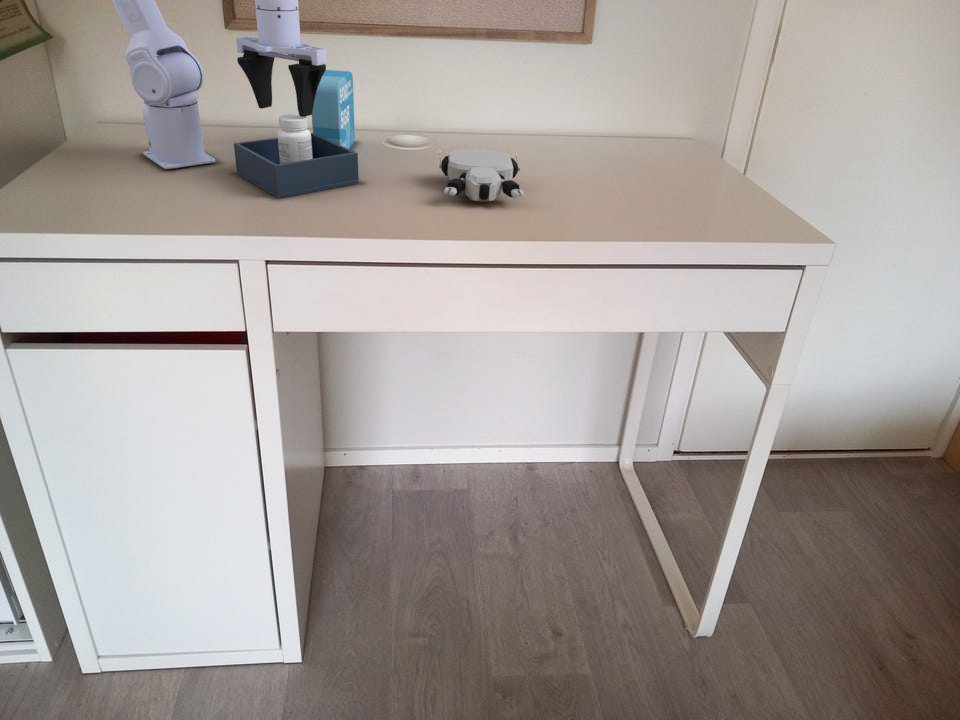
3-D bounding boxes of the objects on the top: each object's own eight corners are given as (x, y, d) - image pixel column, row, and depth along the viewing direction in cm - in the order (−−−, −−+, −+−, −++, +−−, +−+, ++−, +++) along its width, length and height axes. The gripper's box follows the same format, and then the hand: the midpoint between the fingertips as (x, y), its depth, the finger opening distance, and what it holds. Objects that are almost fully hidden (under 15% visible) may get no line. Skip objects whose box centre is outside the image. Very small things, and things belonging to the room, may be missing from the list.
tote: (236, 173, 111) (233, 143, 108) (314, 161, 118) (313, 132, 116) (277, 198, 102) (274, 165, 100) (358, 183, 110) (357, 152, 108)
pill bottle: (313, 170, 112) (310, 113, 108) (313, 179, 108) (309, 121, 104) (281, 170, 112) (277, 113, 107) (280, 179, 108) (274, 120, 103)
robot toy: (526, 214, 104) (515, 175, 117) (529, 184, 102) (517, 147, 114) (440, 212, 103) (438, 173, 116) (440, 181, 101) (438, 144, 113)
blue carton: (341, 160, 120) (338, 83, 113) (313, 158, 120) (309, 81, 114) (355, 141, 130) (352, 69, 124) (329, 139, 130) (326, 68, 124)
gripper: (215, 5, 100) (227, 108, 107) (299, 16, 94) (306, 124, 101) (252, 2, 105) (262, 100, 112) (333, 12, 100) (338, 115, 107)
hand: (285, 111), depth 107 cm, fingers open, 7 cm apart
